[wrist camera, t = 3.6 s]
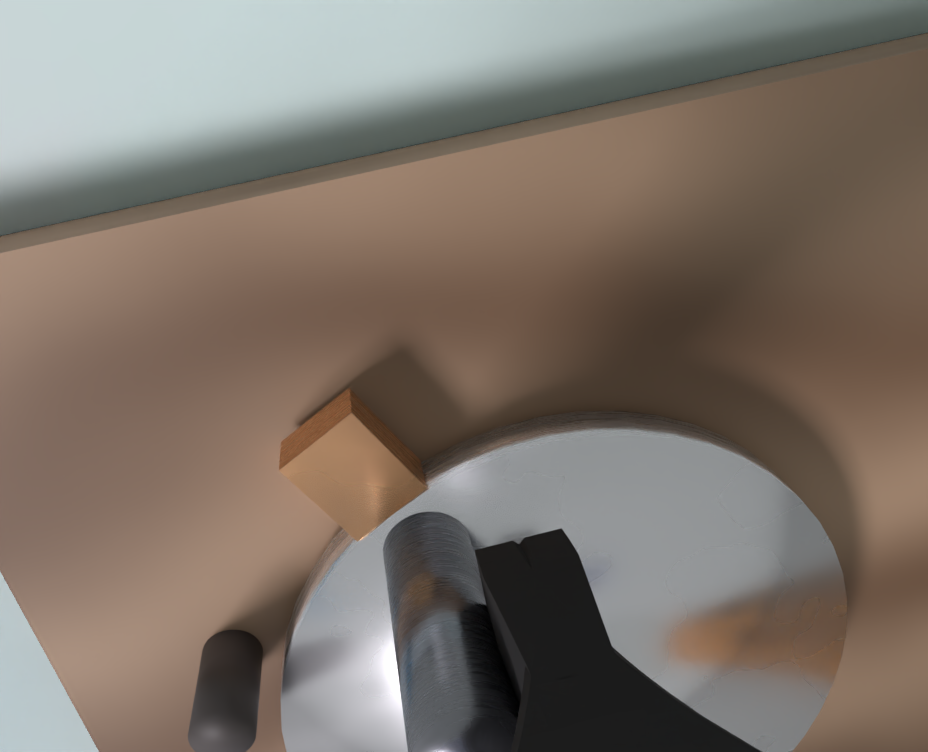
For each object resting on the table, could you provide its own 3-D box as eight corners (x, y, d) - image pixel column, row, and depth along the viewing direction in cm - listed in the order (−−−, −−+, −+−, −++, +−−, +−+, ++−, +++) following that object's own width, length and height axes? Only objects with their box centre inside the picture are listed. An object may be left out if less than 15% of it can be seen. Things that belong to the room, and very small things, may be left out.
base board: (908, 793, 25) (996, 911, 22) (261, 982, 24) (252, 1138, 20) (972, 23, 15) (1147, 28, 12) (-110, 260, 14) (-238, 337, 11)
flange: (901, 649, 20) (1109, 877, 14) (506, 911, 21) (567, 1201, 16) (585, 198, 14) (748, 313, 9) (72, 608, 15) (-51, 912, 10)
